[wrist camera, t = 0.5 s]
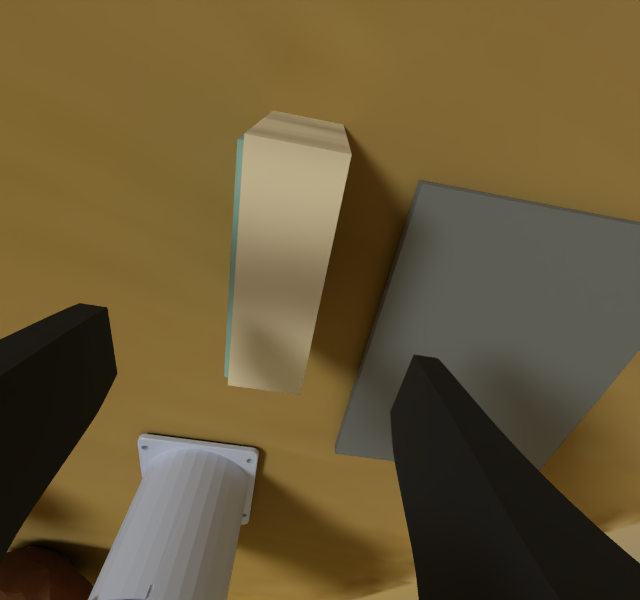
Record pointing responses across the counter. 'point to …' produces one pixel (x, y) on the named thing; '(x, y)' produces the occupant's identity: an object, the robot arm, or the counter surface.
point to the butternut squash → (41, 576)
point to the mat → (502, 315)
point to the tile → (281, 246)
